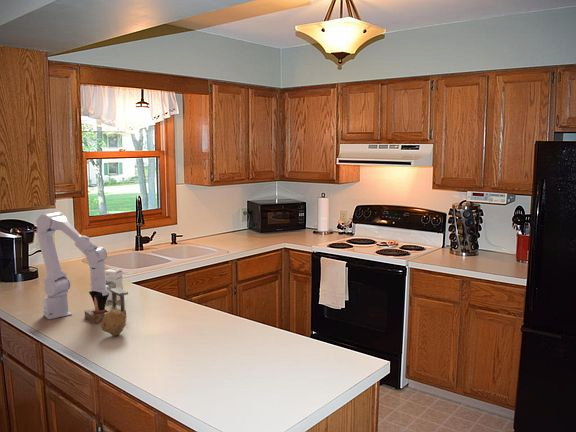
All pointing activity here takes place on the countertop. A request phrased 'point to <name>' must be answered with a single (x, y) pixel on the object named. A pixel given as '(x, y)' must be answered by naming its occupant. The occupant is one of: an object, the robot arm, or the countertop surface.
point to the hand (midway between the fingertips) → (99, 308)
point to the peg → (97, 308)
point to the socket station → (108, 307)
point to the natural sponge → (113, 322)
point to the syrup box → (113, 281)
